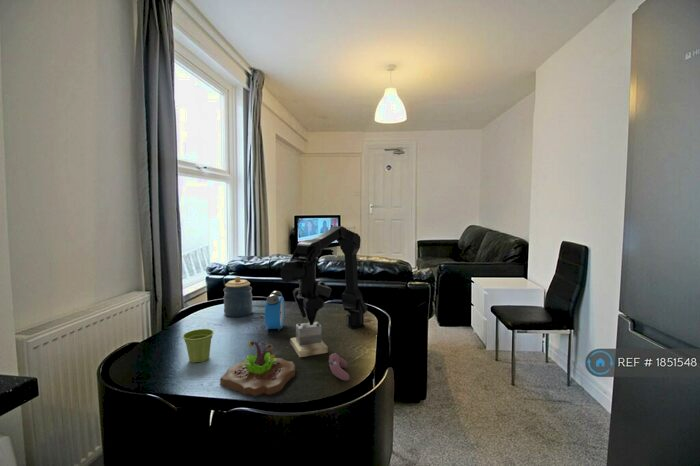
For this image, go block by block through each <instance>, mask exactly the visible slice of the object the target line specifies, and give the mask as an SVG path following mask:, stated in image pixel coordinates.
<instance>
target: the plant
mask: <svg viewBox="0 0 700 466" xmlns="http://www.w3.org/2000/svg"><path fill="white" fill-rule="evenodd" d="M254 345H255V348H256V353H255V355H251V354H247V356H246V357H247V358H246V359H243V360H241V361H239V362H236V363H235V364H233V365H232V366H230V367H228V368H227V370H226V372H225V373H224V374H223V375H222V376H221V377H220V382H219V383H220V384H219V385H221V386H222V387H224V388H228V389H230V390H232V391H235V392H238V393H239V392H240V393H242V394H243V396H246V395H247V396H248V395H251V396H253V397H255V396H259V395H263V394H265V395H269V396H270V395H274V394H276V393H278V392H280V391H282V390H283V388H284V387H285V385H287V383H288V382H289V380H291V379H292V378H294V377H296V365H295V363H294V361H289V360H286V359H284V358H281V357H275V356H276V355H275V353H274V352H273V351H272V350H273V347H274V346H273V345H272V344H270V343H269V344H268V343H267V345H265V346H264V348H263V350H262V351H261V348H260V346H259V344H258V343H257V342H256V341H253V340H252V341H249V343H248V347H250V348H251V347H253V346H254Z"/></svg>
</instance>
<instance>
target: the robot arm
mask: <svg viewBox="0 0 700 466" xmlns="http://www.w3.org/2000/svg"><path fill="white" fill-rule="evenodd" d="M336 241H337V242H338V243H339V247H340V250H341V251H342V253H343V255H344V271H345V274H344V275H345V290H344V291H343V292H342V294H341V304H342V306H343V310H344V311H345V312H346V313H347V314H346V318H345V321H346V322H345V325H346V326H347V327H349V328H350V329H357V328H365V327H366V325H365V324H364V318H365V317H364V316H365V314H366V313H367V312H368V305H367V304H366V303H365V301H364V296H363V293H362V292H361V290H360V289H359V281H358V279H359V278H358V276H359V275H358V260H357V259H358V258H357V256H358V255H357V254H358V252H359V250H360V248H361V241H362V240H361V236H360V235H359V234H358V233H356V232H354V231H351V230H350V229H347V228H346V227H344V226H340V225H334V226H332V227H331V228H330V229H329V230H327V231H325V232H323V233H322V234H319V235H318V236H316V237H314V238H312V239H307V240H302V241H299V242H298V243H297V244H296V248H295V250H294V251H293V254H292V256H291V258H290V261H285V262H284V265H283V266H282V267H281V269H280V279H281V280H282V281H283V282H285V283H291V282H296V281H297V283H298V284H299V286H298V287H297V288H294V290H292V295H293V297H294V301H295V303H296V305H297V307H298V309H299V312H300V313H301V314H300V315H301V316H302V318H306V319H307V320H308V323H309V324H310V325H313V324H314V322H315V320H316V316H317V313H318V311H319V310H320V309H322V308H324V307H325V301H324V299H322V298H321V297H320V296H324V297H326V298H330V296H331V293H332V290H333V289H332V288H331V287H330V286H327V285H326V283H325V282H324V281H322V280H319V281H318V280H316V279H317V277H316V275H317V271H316V268H317V266H316V265H319V264H320V260H318V259H317V258H318V257H319V256H321V254H322V251H323V249H324V248H326V247H328V246H329V245H330V244H332V243H334V242H336ZM319 295H320V296H319Z"/></svg>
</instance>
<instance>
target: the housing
mask: <svg viewBox="0 0 700 466" xmlns="http://www.w3.org/2000/svg"><path fill="white" fill-rule="evenodd" d="M295 337H296V341H297V343H298V344H299V346H301V345H307V344H314V343H320V342H322V341H323V340H322V325H321V324H320V323H319V321H314V324H313V325H310V324H309V322H304V323H301V322H298V323H296V324H295Z"/></svg>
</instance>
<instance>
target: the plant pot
mask: <svg viewBox="0 0 700 466" xmlns="http://www.w3.org/2000/svg"><path fill="white" fill-rule="evenodd" d="M214 333H215V331H214V330H212V329H211V328H210V329H209V328H200V329H193V330H189V331H187V332H185V333H184V334H182V339H183V340H184V342H185V345H186V350H187V356H188V360H189V362H190V363H193V364H196V363H203V362H206V361H208V360H209V358H210V353H211V345H212V338H213V335H214Z"/></svg>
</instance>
